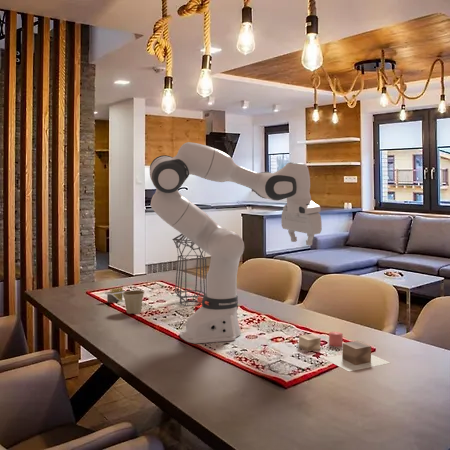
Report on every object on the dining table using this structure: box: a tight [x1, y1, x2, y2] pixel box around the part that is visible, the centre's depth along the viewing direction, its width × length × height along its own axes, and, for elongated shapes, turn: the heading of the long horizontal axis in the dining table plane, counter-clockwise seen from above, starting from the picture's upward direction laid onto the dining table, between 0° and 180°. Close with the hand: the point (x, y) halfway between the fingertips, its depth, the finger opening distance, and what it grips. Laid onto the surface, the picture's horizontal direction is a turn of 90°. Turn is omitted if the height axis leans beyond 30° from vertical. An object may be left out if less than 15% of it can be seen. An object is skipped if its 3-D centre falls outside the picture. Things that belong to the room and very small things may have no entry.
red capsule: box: [328, 331, 343, 348], centre depth 166 cm, size 4×4×5 cm
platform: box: [104, 286, 126, 303], centre depth 231 cm, size 12×18×7 cm, turn 133°
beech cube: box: [298, 333, 321, 352], centre depth 162 cm, size 5×5×5 cm
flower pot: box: [122, 289, 145, 315], centre depth 211 cm, size 9×9×9 cm
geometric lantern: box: [172, 233, 208, 307], centre depth 226 cm, size 16×16×35 cm
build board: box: [323, 353, 391, 373], centre depth 151 cm, size 16×12×1 cm
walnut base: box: [341, 340, 372, 365], centre depth 150 cm, size 6×6×5 cm
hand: (301, 243), depth 182 cm, fingers open, 8 cm apart
